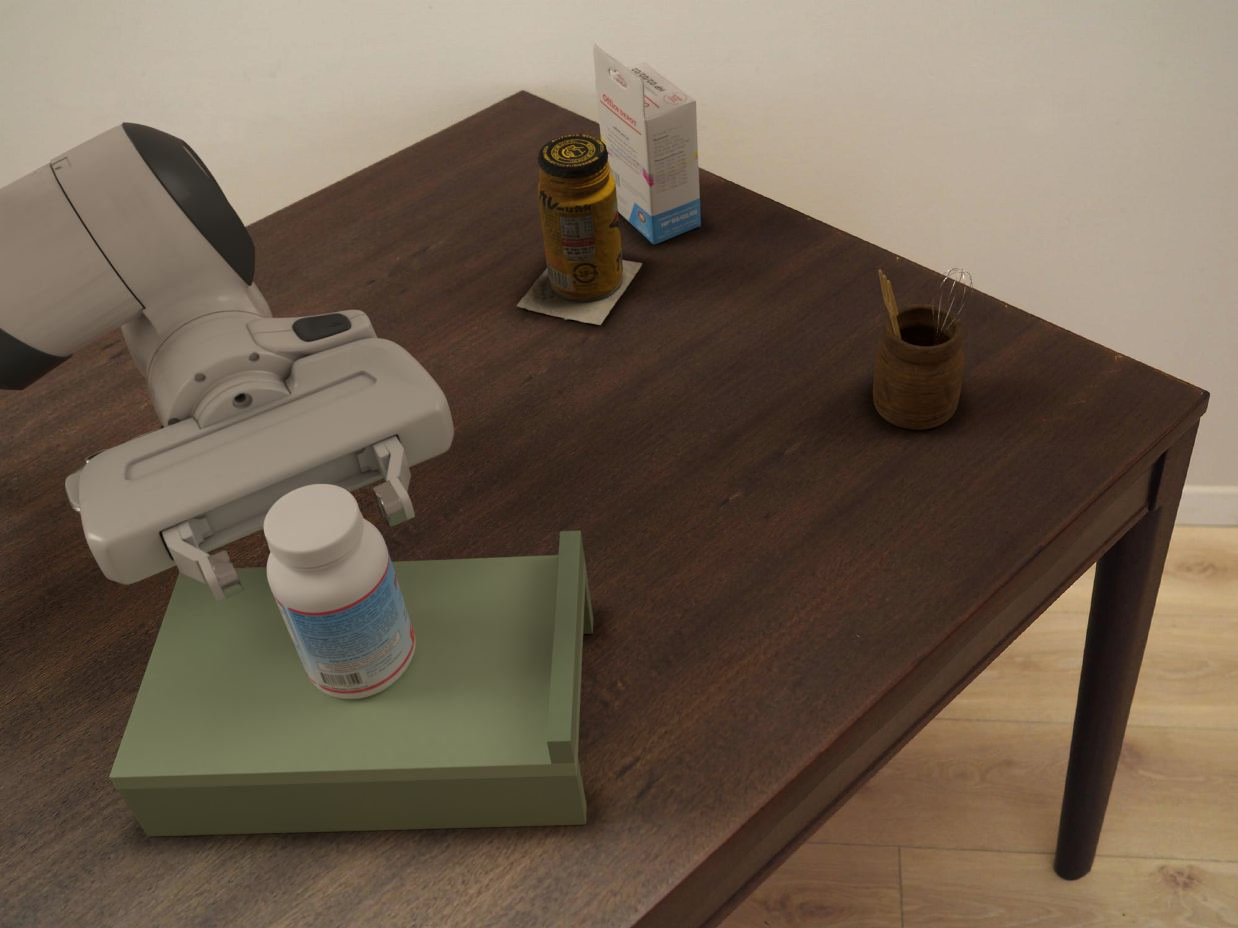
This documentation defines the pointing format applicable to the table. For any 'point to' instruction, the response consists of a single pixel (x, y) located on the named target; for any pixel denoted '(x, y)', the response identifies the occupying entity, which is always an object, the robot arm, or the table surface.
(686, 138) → the ink box
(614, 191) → the condiment
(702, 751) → the table surface
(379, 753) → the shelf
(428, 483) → the table surface
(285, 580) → the pill bottle
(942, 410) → the utensil holder
